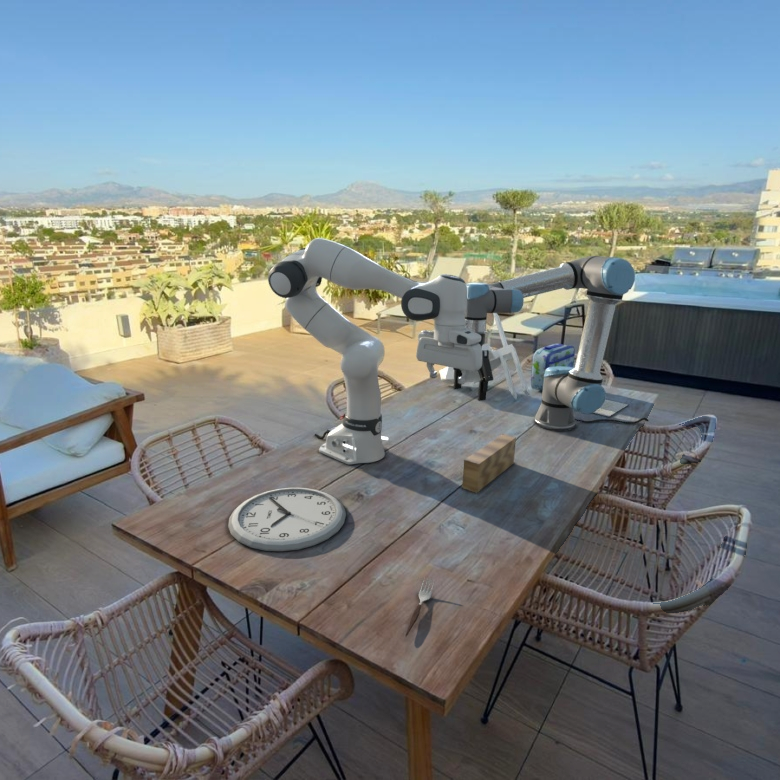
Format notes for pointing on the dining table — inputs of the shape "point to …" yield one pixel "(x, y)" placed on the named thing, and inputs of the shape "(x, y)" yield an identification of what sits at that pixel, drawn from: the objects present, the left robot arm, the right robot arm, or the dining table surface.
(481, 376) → the right robot arm
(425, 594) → the fork
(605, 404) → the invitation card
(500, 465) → the bar
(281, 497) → the wall clock
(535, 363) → the lunch box
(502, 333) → the white plastic object
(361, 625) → the dining table surface
